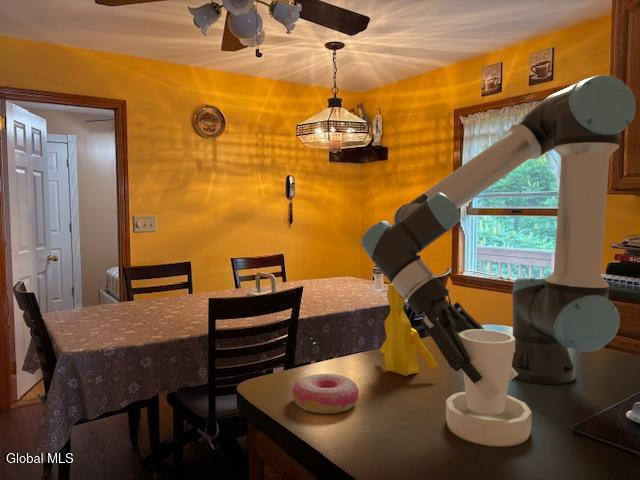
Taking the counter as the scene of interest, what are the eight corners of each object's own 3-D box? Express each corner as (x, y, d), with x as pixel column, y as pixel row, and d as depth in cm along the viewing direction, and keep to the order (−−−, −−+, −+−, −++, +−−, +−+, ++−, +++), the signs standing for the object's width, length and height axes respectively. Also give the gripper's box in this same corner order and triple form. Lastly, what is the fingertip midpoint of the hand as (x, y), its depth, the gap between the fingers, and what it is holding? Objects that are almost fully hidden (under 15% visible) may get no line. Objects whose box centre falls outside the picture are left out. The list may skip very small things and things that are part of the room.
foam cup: (518, 420, 80) (519, 344, 79) (461, 416, 81) (461, 341, 81) (507, 398, 89) (508, 330, 88) (456, 395, 91) (457, 328, 90)
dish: (517, 412, 91) (517, 392, 91) (540, 448, 77) (541, 424, 77) (442, 409, 93) (442, 389, 93) (452, 444, 79) (452, 421, 79)
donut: (369, 414, 92) (369, 388, 92) (302, 423, 88) (302, 397, 88) (345, 389, 105) (345, 367, 105) (287, 396, 101) (286, 373, 101)
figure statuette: (442, 378, 111) (442, 284, 109) (421, 386, 106) (421, 288, 104) (386, 360, 124) (385, 277, 123) (364, 367, 119) (364, 280, 118)
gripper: (432, 293, 102) (506, 380, 93) (379, 310, 85) (465, 420, 76) (456, 270, 99) (536, 359, 90) (406, 283, 81) (500, 395, 72)
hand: (503, 387), depth 83 cm, fingers closed on foam cup, 9 cm apart
